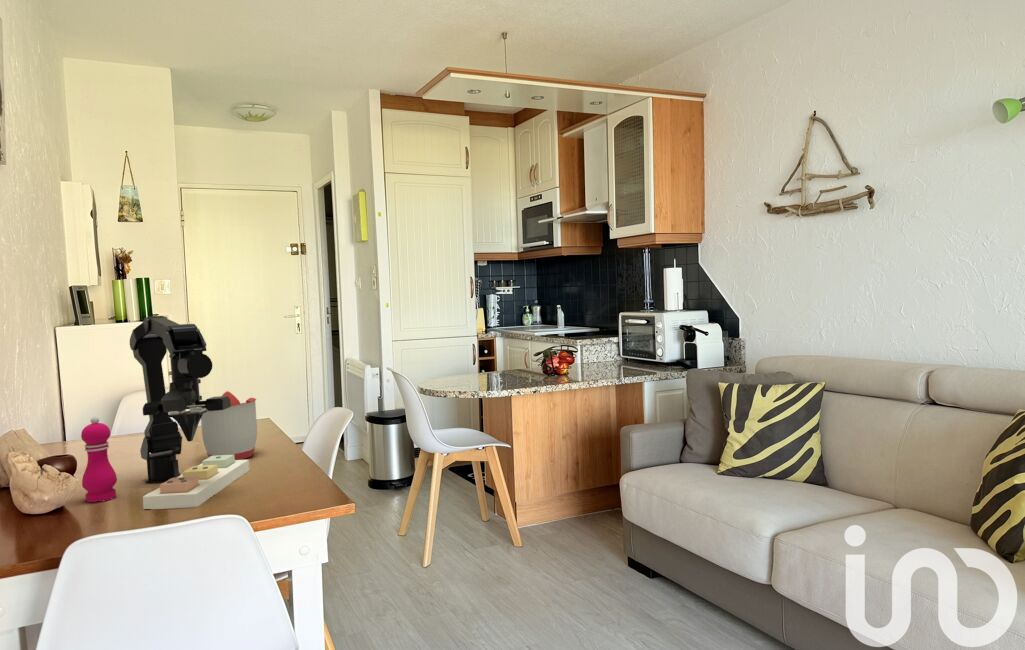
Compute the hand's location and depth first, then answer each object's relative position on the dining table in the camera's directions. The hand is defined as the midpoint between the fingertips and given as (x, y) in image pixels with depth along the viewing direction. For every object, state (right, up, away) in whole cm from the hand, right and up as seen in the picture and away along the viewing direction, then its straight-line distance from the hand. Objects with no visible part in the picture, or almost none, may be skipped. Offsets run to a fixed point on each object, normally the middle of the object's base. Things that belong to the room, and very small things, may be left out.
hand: (190, 441), depth 165 cm
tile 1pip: (0, -10, +17) cm, 19 cm away
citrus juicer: (-5, -12, +39) cm, 41 cm away
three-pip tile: (0, -11, -5) cm, 12 cm away
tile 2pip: (0, -10, +6) cm, 11 cm away
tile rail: (0, -13, +6) cm, 14 cm away
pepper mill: (-22, -14, +1) cm, 26 cm away
